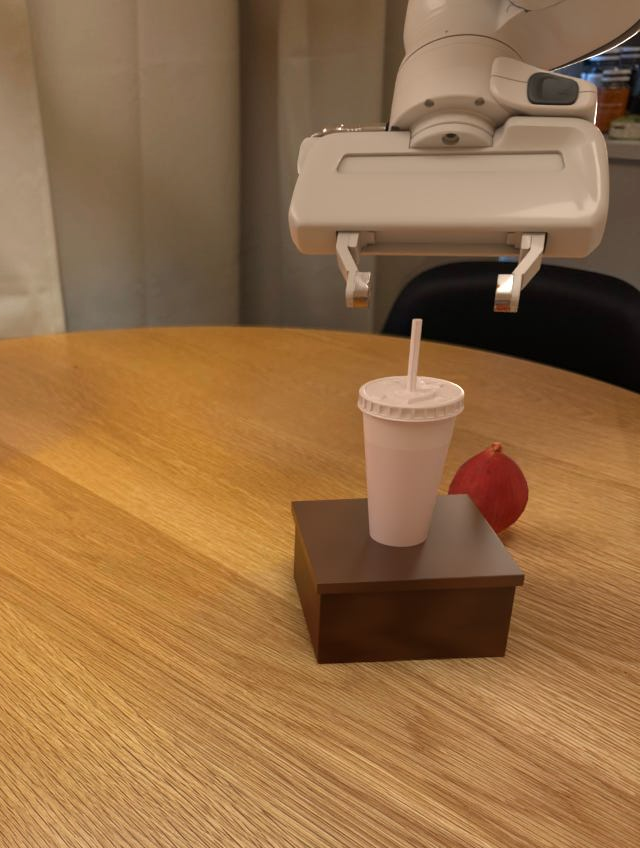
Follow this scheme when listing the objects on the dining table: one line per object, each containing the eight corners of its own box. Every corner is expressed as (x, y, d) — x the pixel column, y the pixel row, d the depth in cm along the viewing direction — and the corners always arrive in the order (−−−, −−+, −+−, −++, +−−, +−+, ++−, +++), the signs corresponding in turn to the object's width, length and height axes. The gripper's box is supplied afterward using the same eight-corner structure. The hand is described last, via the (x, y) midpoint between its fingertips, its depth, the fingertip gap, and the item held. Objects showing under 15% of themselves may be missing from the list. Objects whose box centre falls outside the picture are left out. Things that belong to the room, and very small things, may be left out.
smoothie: (342, 550, 64) (355, 329, 57) (355, 511, 70) (369, 303, 62) (445, 560, 63) (472, 333, 56) (451, 519, 68) (476, 306, 61)
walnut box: (458, 568, 75) (468, 493, 72) (511, 658, 64) (525, 574, 61) (288, 575, 75) (291, 500, 72) (313, 666, 64) (317, 583, 61)
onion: (428, 538, 79) (438, 441, 75) (472, 517, 82) (484, 422, 78) (492, 562, 75) (506, 461, 71) (535, 539, 78) (552, 440, 74)
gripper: (298, 93, 68) (265, 273, 65) (624, 82, 62) (604, 279, 60) (307, 158, 74) (278, 326, 71) (606, 154, 68) (588, 336, 65)
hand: (429, 305), depth 65 cm, fingers open, 8 cm apart
